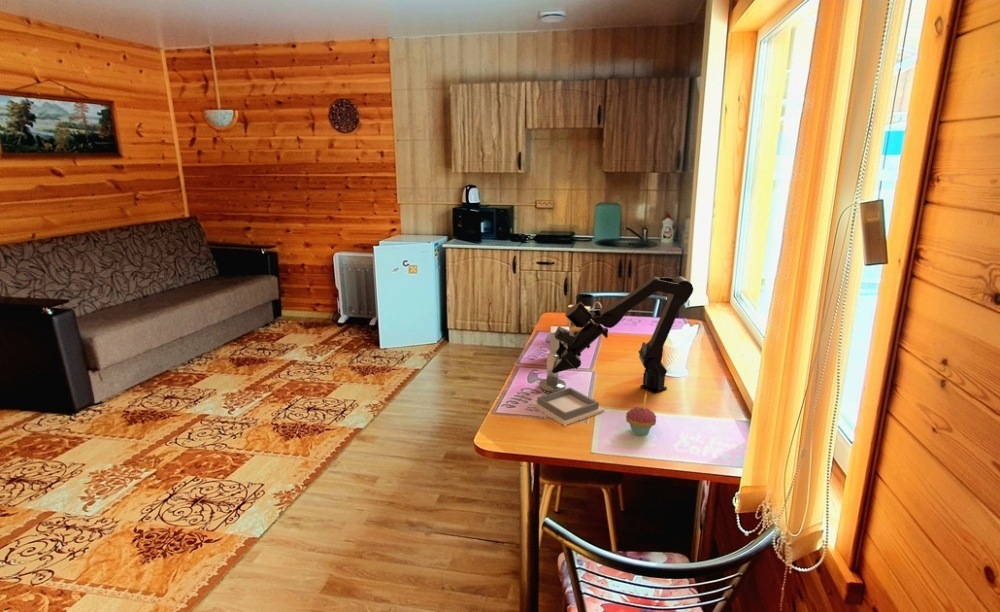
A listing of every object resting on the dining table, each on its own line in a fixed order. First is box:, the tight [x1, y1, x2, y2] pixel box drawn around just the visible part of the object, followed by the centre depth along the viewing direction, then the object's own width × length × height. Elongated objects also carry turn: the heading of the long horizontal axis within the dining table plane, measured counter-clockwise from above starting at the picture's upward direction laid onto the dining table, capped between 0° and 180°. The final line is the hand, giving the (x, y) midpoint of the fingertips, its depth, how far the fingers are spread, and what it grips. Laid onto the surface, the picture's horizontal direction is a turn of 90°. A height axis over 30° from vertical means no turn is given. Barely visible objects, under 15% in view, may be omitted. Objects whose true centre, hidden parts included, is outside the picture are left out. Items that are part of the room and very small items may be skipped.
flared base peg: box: [538, 352, 567, 394], centre depth 187 cm, size 9×9×12 cm
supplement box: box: [549, 325, 569, 361], centre depth 211 cm, size 7×7×13 cm
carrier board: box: [531, 387, 605, 427], centre depth 173 cm, size 16×16×3 cm
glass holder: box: [575, 293, 603, 322], centre depth 245 cm, size 9×14×15 cm, turn 40°
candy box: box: [566, 304, 590, 333], centre depth 231 cm, size 9×4×15 cm, turn 70°
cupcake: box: [625, 391, 657, 436], centre depth 158 cm, size 9×8×12 cm
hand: (551, 366), depth 187 cm, fingers open, 9 cm apart
